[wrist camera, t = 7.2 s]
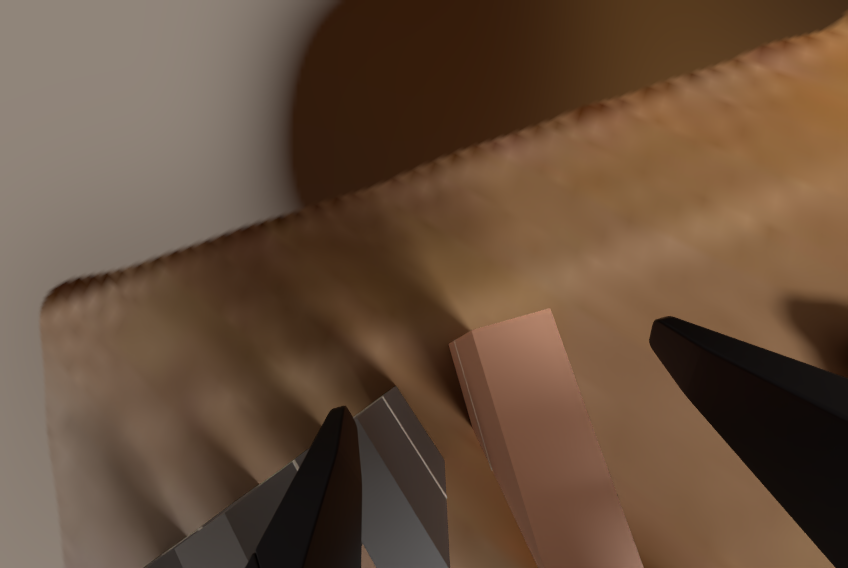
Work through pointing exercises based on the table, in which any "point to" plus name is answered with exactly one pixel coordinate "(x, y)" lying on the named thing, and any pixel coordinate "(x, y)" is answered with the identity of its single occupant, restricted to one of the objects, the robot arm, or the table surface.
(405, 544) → the domino
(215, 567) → the domino
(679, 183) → the table surface
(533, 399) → the domino
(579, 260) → the table surface
